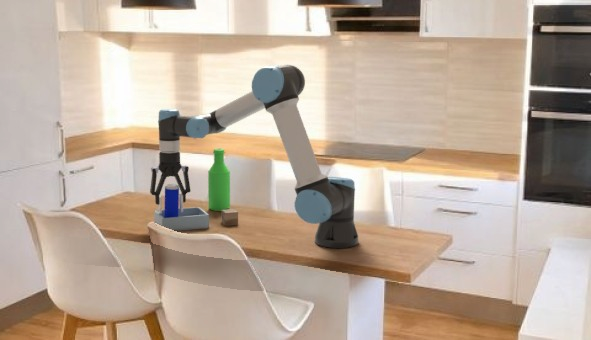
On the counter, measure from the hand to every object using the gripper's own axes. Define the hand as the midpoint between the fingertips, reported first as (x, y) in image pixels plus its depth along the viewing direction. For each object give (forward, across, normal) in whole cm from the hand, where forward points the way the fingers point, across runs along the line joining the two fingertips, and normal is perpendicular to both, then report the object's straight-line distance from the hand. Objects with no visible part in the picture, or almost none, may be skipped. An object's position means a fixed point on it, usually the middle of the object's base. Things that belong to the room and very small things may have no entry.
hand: (170, 211), depth 279 cm
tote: (+6, -4, 0) cm, 7 cm away
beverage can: (+5, 0, 0) cm, 5 cm away
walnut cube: (+6, -22, +3) cm, 23 cm away
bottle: (+6, -25, -21) cm, 33 cm away
